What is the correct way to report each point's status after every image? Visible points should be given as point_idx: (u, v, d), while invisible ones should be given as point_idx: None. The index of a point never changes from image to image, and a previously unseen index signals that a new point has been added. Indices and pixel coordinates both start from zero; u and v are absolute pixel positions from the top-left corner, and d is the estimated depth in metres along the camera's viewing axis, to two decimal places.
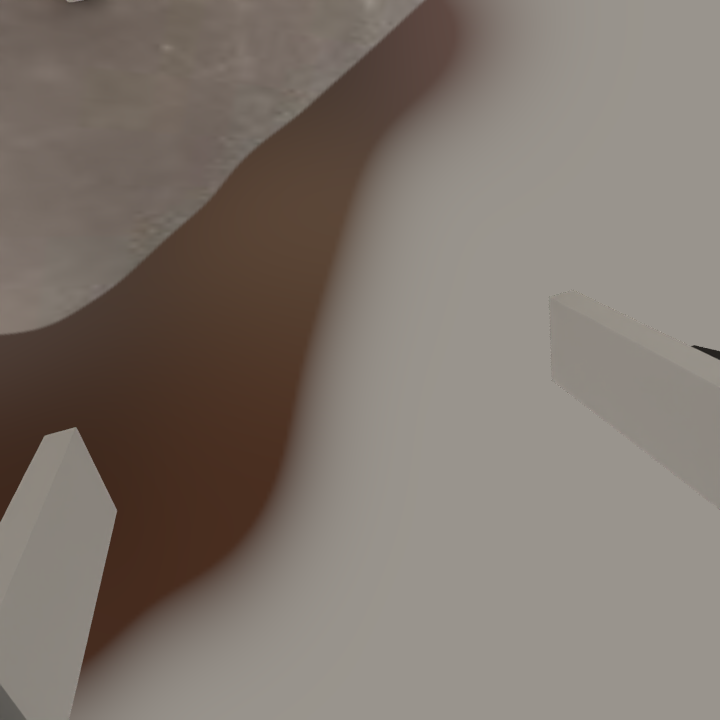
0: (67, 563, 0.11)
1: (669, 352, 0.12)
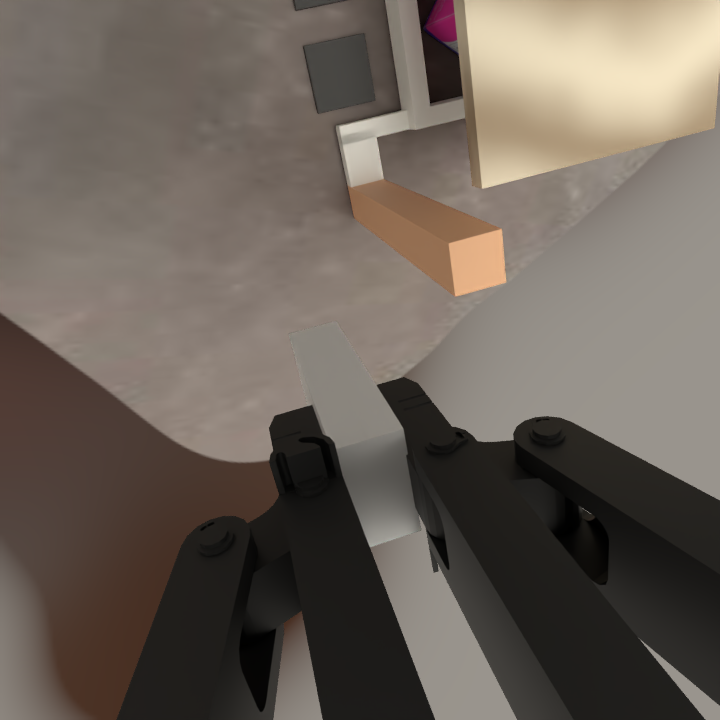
0: None
1: (353, 386, 0.13)
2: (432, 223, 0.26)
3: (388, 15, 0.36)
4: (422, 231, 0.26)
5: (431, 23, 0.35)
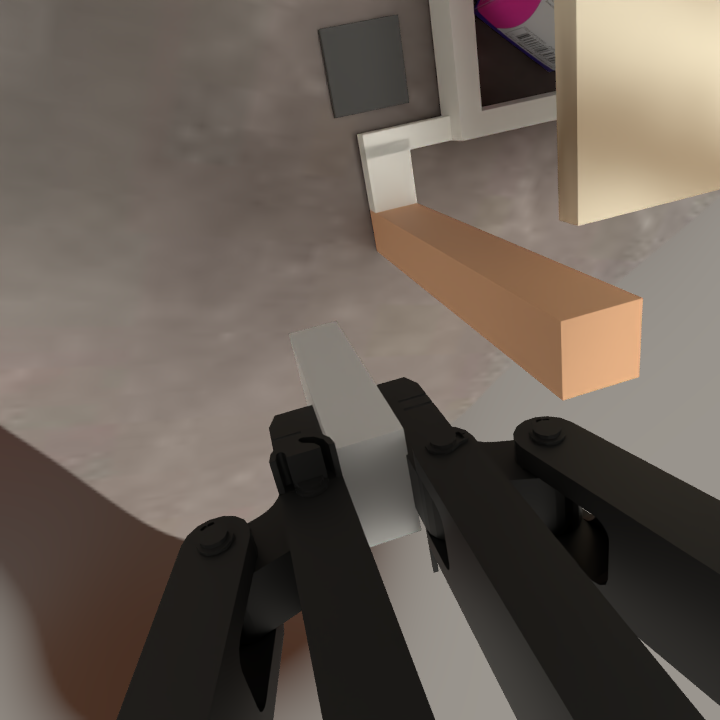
0: None
1: (353, 386, 0.13)
2: (514, 279, 0.18)
3: None
4: (502, 292, 0.17)
5: (486, 2, 0.27)
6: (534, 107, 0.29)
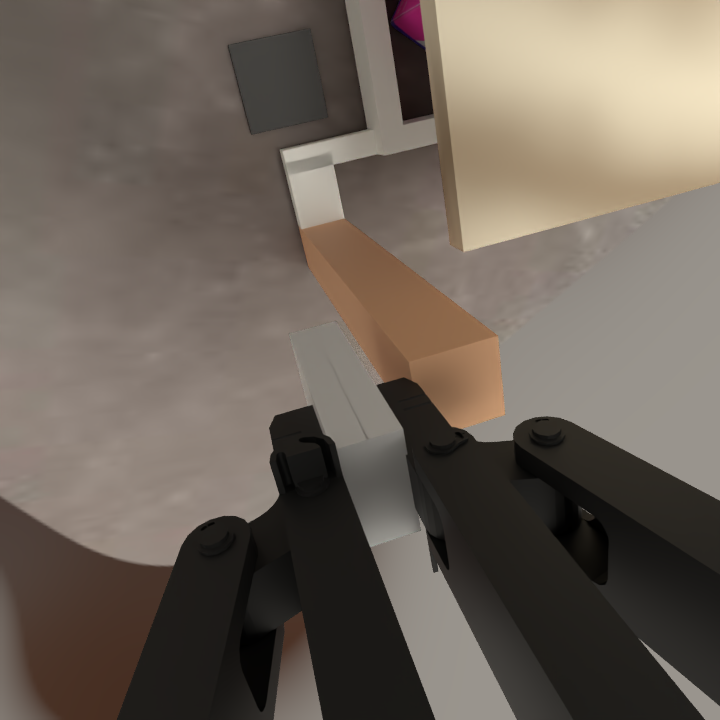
0: None
1: (352, 386, 0.13)
2: (390, 310, 0.17)
3: (346, 4, 0.27)
4: (375, 324, 0.17)
5: (399, 15, 0.26)
6: None
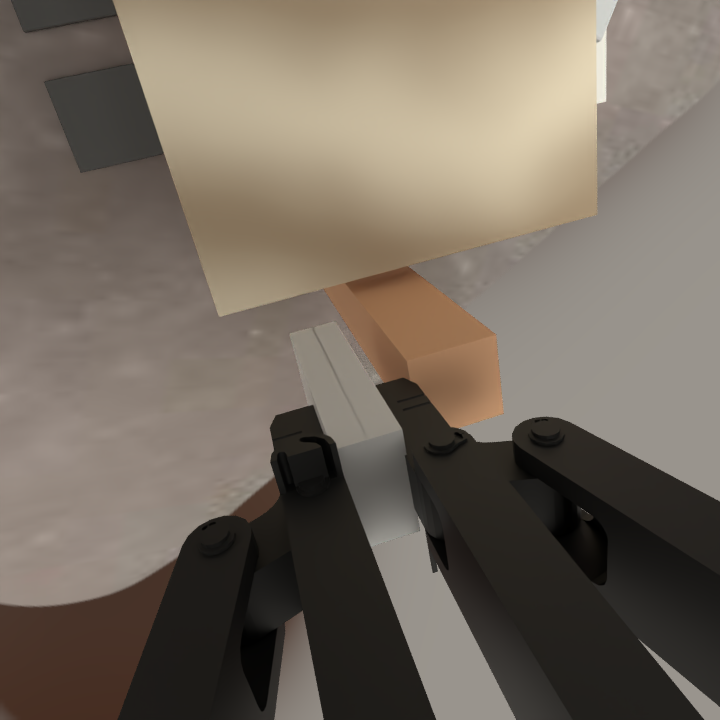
0: None
1: (351, 387, 0.13)
2: (389, 309, 0.17)
3: None
4: (374, 323, 0.17)
5: None
6: None
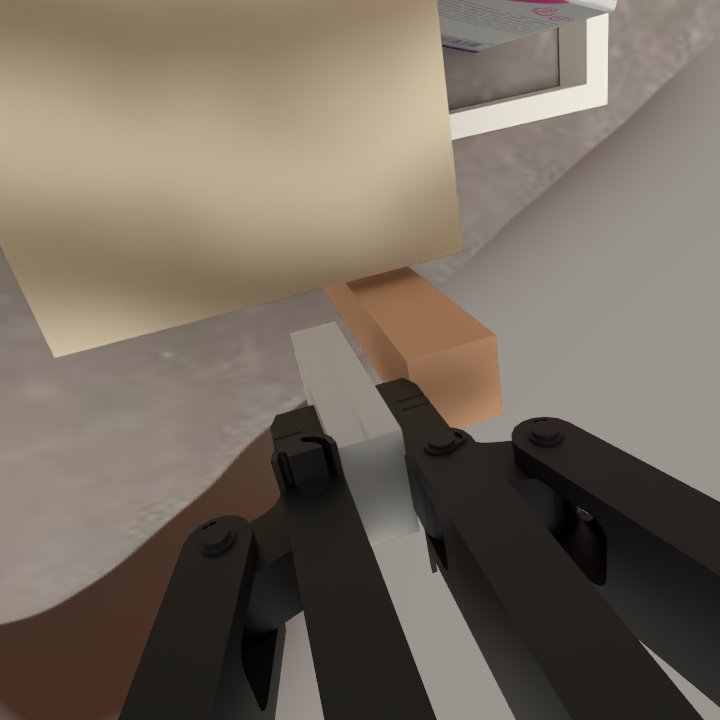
0: None
1: (351, 387, 0.13)
2: (389, 309, 0.17)
3: None
4: (374, 323, 0.17)
5: None
6: (460, 120, 0.28)
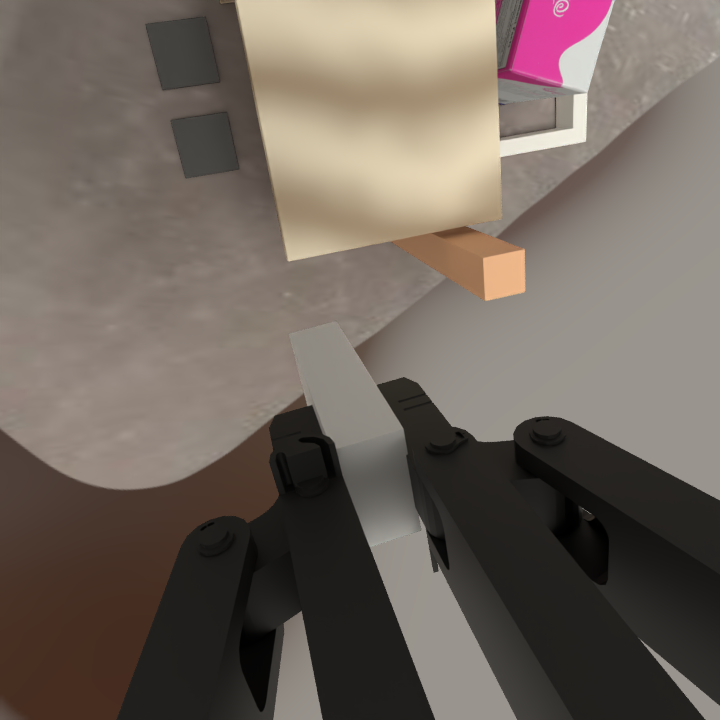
0: None
1: (353, 386, 0.13)
2: (466, 243, 0.32)
3: None
4: (458, 249, 0.32)
5: None
6: None
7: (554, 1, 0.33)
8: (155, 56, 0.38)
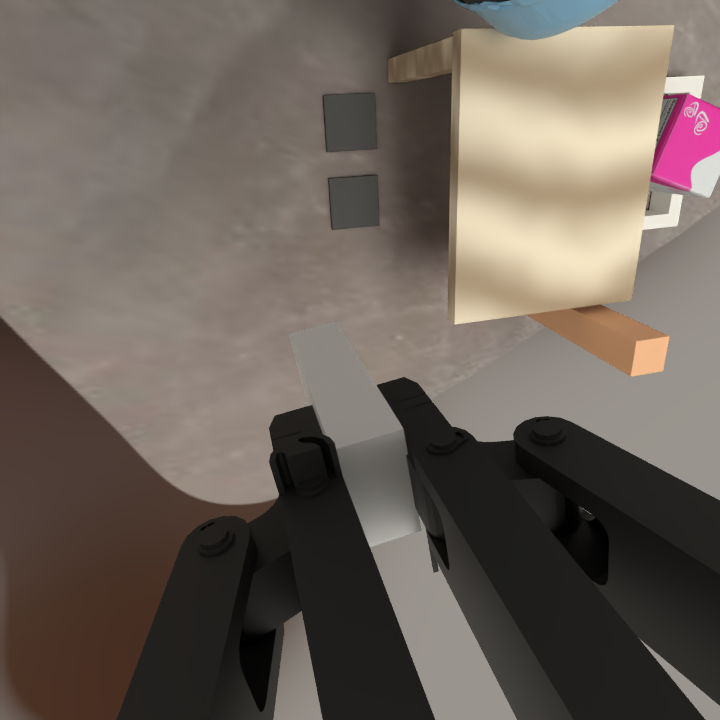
0: None
1: (353, 386, 0.13)
2: (607, 321, 0.37)
3: None
4: (602, 326, 0.37)
5: None
6: None
7: (696, 122, 0.38)
8: (327, 123, 0.42)
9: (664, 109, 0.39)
